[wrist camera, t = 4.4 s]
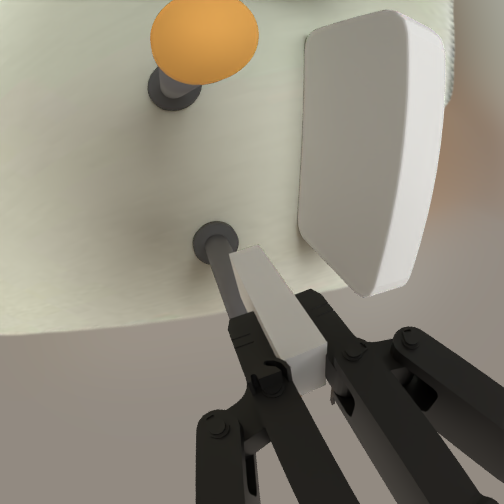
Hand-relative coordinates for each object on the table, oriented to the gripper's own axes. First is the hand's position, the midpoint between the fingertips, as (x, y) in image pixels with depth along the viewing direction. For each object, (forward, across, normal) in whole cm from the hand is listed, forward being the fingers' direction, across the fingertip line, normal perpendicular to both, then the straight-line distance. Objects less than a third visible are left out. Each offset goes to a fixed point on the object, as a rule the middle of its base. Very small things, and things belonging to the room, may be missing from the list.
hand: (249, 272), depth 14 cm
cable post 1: (+23, 0, +11) cm, 25 cm away
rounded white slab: (+23, +17, +1) cm, 29 cm away
